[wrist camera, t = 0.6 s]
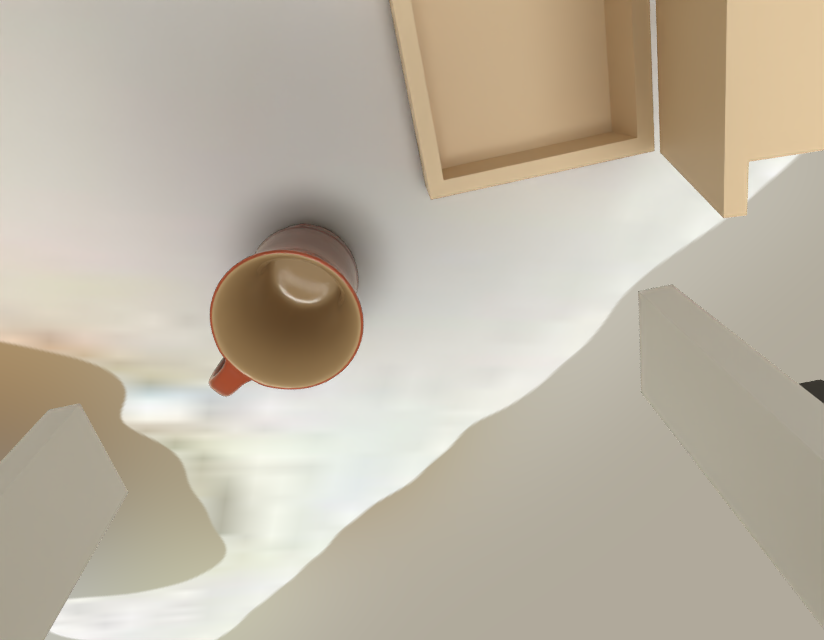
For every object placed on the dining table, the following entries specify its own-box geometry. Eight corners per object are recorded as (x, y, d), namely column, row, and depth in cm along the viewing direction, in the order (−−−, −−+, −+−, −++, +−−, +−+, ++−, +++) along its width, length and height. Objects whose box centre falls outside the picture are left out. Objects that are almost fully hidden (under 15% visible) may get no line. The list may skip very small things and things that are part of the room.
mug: (301, 183, 40) (276, 217, 30) (392, 266, 42) (394, 321, 33) (197, 299, 43) (144, 363, 33) (287, 369, 45) (262, 447, 36)
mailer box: (372, -83, 34) (371, -107, 29) (607, -139, 33) (643, -173, 28) (425, 185, 40) (430, 199, 35) (622, 141, 39) (654, 151, 35)
